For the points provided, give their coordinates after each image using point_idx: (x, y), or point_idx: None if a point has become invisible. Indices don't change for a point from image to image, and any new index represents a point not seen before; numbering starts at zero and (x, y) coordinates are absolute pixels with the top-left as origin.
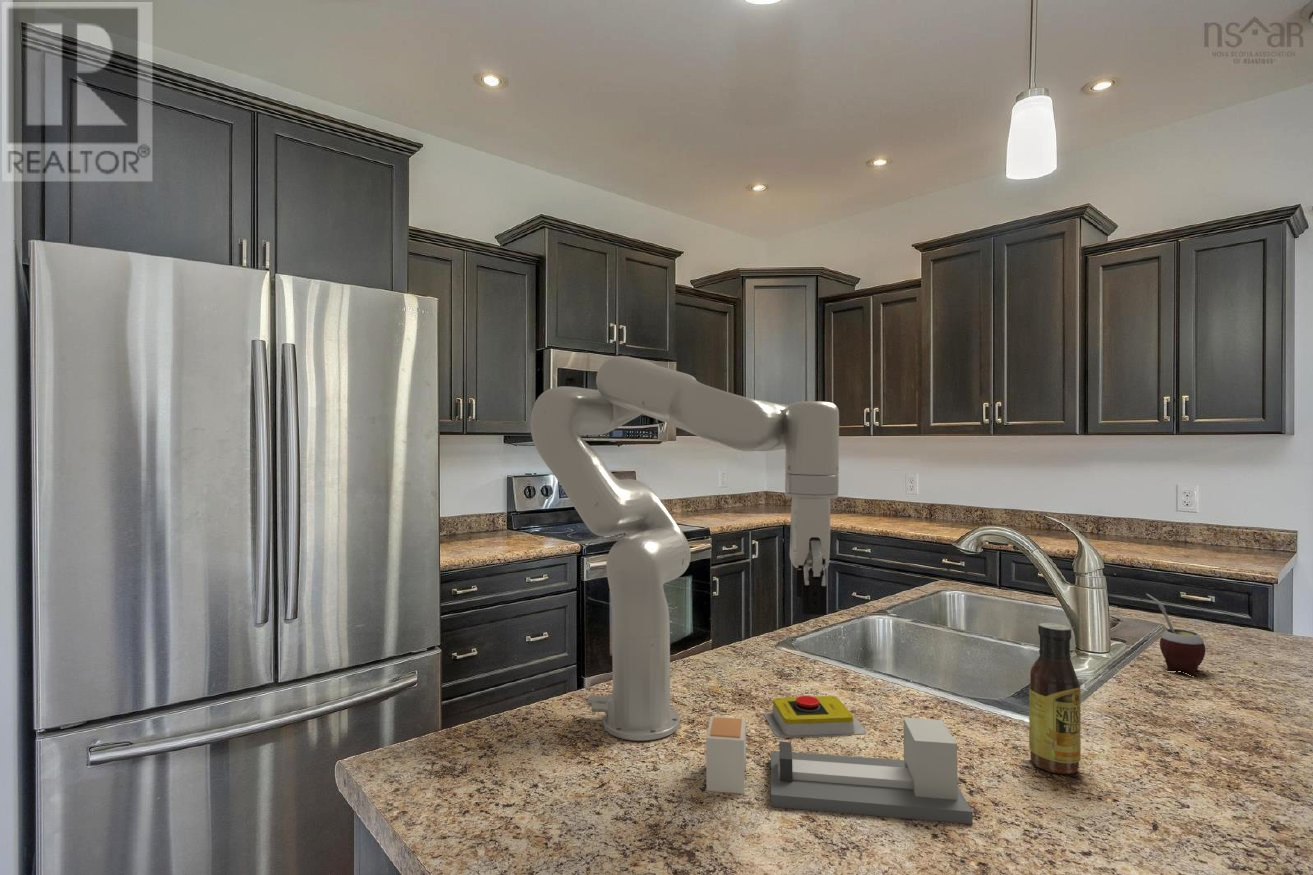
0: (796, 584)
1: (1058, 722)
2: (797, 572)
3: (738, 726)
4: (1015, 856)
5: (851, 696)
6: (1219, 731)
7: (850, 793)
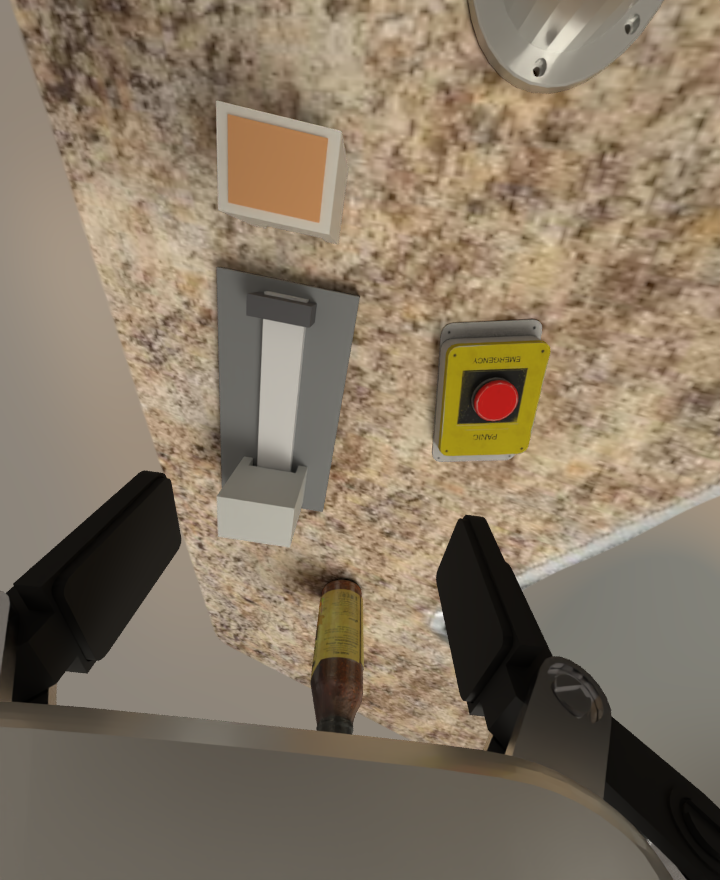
0: (501, 557)
1: (316, 636)
2: (514, 632)
3: (278, 206)
4: (182, 498)
5: (562, 478)
6: (398, 701)
7: (239, 386)
